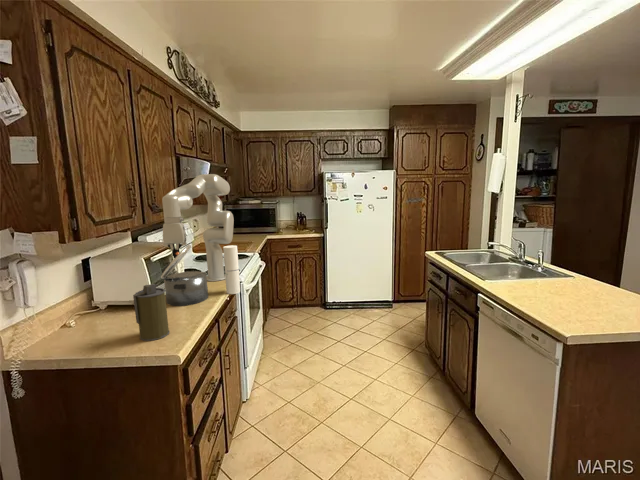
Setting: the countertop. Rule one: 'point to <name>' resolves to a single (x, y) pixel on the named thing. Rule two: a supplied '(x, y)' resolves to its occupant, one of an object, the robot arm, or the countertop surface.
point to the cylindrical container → (231, 269)
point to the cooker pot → (186, 288)
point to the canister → (151, 313)
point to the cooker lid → (175, 261)
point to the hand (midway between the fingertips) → (176, 257)
